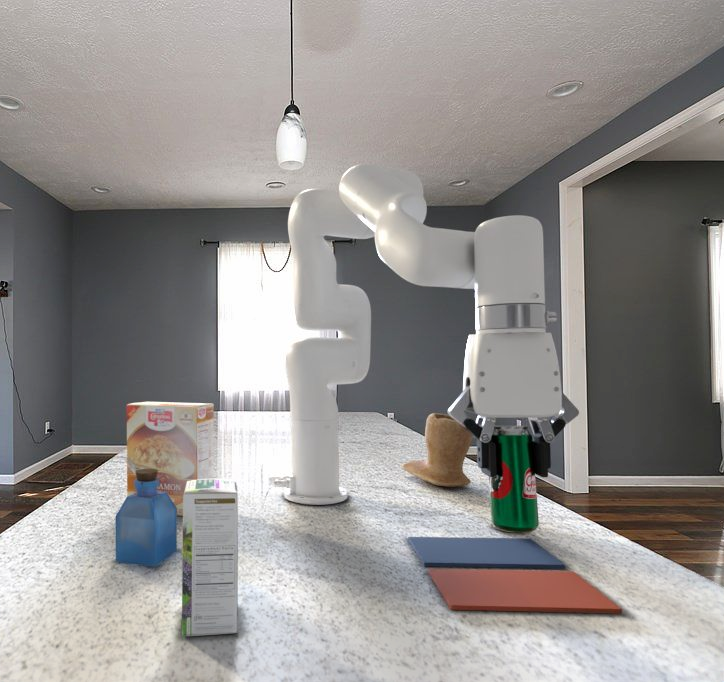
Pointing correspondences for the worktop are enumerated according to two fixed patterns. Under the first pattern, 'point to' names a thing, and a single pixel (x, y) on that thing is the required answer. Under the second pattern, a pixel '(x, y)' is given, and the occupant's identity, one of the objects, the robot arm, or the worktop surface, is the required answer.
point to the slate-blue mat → (483, 552)
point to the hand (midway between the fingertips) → (513, 473)
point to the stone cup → (443, 452)
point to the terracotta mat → (520, 591)
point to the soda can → (514, 481)
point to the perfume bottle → (146, 523)
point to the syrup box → (210, 557)
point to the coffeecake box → (170, 445)
